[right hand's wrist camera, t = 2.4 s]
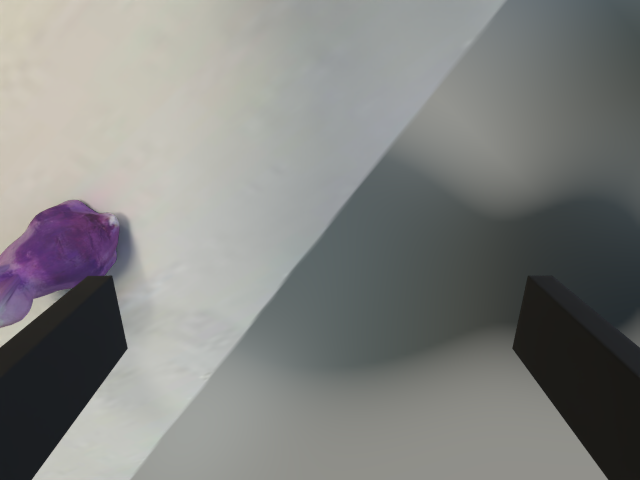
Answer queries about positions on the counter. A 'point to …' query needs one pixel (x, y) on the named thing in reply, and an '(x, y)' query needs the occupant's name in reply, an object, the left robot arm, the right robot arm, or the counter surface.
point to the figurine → (55, 256)
